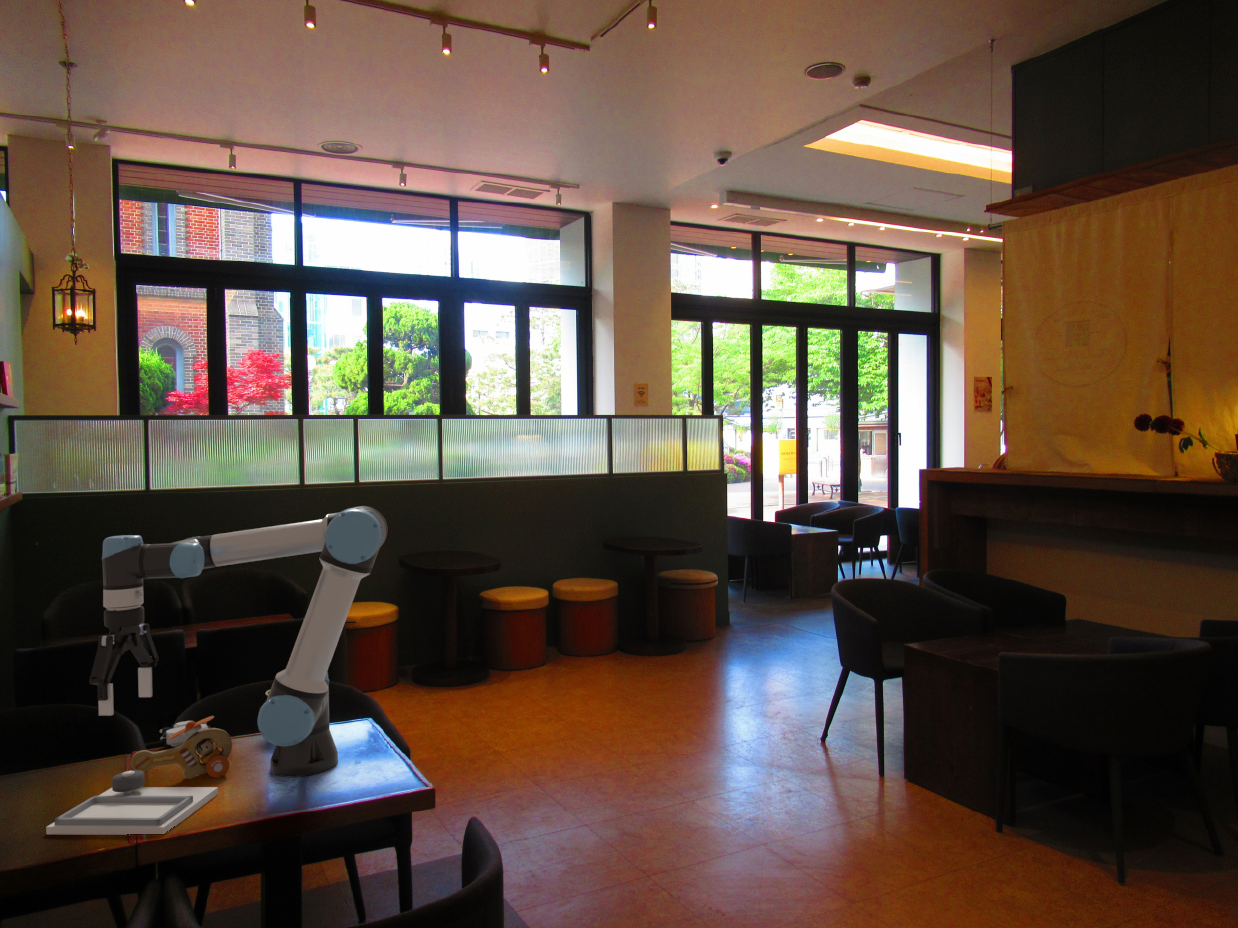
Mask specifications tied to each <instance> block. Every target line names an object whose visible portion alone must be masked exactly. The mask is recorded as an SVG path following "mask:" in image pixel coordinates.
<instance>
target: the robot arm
mask: <svg viewBox="0 0 1238 928" xmlns="http://www.w3.org/2000/svg"><path fill="white" fill-rule="evenodd" d="M387 536H388V524H387V521H386V519H385V517H384V516H383V514H381V512H380V511H379V510H377V509H375V508H373V507H371V506H366V505H361V506H354V507H350V508H347V509H343V510H341V511H340V512H334V513H328V514H326V515H325V516H324V518H321V519H315V520H308V521H302V522H301V521H300V522H295V523H294V522H293V523H287V524H278V525H273V526H265V527H260V528H253V529H252V528H250V529H243V530H238V531H232V532H226V533H224V532H223V533H217V534H212V535H203V536H197V535H196V536H192V537H187V538H186V539H183V540H182V539H181V540H178V541H174V542H170V543H152V544H149V543H144V541H143V537H142V536H141V535H139V534H138V535H137V534H135V535H133V534H130V535H129V534H128V535H125V534H124V535H123V534H122V535H113V536H109V537H106V538H104V540H103V541H102V557H101V561H102V578H103V579H102V581H103V584H102V585H103V586H102V587H103V591H102V593H103V595H102V597H103V600H102V603H103V604H102V607H103V608H105V610H104V611H103V623H104V624H103V625H104V627H105V628H108V630H109V633H108V635H99V636H98V638H97V640H98V641H97V650H96V654H95V657H94V661H93V664H92V667H91V668H92V669H91V672H90V676H89V680H88V683H89V685H92V686H97V688H96V689H97V701H98V702H97V704H98V716H99V717H100V716H113V715H114V710H115V709H114V683H110V682H111V680H112V678H113V676H114V674H115V671H116V669H117V666H118V664H119V661H120V659H121V657H122V656H123V655H124V654H125V652H127V651H130V652H131V654H132V655H133V656H134V658H135V659H136V661H137V663H138V664H139V666H140V667H138V668H137V678H138V679H137V681H138V684H137V685H138V688H137V689H138V698H152V697H153V667H157V665H158V661H159V655H158V652H157V650H156V649H157V648H156V646H155V643H154V641H153V637H152V635H151V632H150V631H151V630H150V624H149V623H145V607H144V606H142V605H143V604H144V593H145V592H144V579H145V580H150V579H173V578H176V579H177V578H179V579H185V578H191V577H198V576H200V575H201V574H202V572H203V570H204V569H211V568H216V567H222V566H228V565H236V564H243V563H249V562H250V563H251V562H257V561H263V560H271V559H276V558H277V559H278V558H283V557H291V556H298V555H305V554H313V553H319V552H321V553H320V555H319V561H320V564H321V565H322V569H321V572H320V575H319V578H318V581H317V584H316V586H315V589H314V592H313V595H312V597H311V600H310V602H309V605H308V608H307V610H306V614H305V616H304V617H303V622H302V624H301V627H300V629H299V632H298V635H297V638H296V640H295V642H294V646H293V649H292V651H291V654H290V657H289V660H288V662H287V665H286V667H285V669H283V670H281V671H279V672H277V673H276V675H275V677H274V680H273V683H272V685H271V687H270V689H269V690H270V693H269V695H268V696H267V698H266V700H265V702H264V703H263V704H262V705H261V706H260V708H259V712H258V714H257V715H258V716H257V727H258V731H259V732H260V734H261V736H262V737H263V738H264V739H265V740H266V741H267V742H269V743H270V744H271V745H272V744H273V745H274V747H273V751H272V754H271V758H270V761H269V764H270V765H269V766H270V768H269V769H270V772H271V773H272V774H273V775H275V776H279V777H284V778H285V777H287V778H294V777H295V778H296V777H305V776H310V775H316V774H319V773H322V772H325V771H328V770H330V769H331V768H332V769H333V767H335V766H336V765H337V764H338V762H339V753H338V749H337V747H336V743H335V741H334V738H333V736H332V733H331V730H330V700H329V699H330V696H329V695H330V692H329V691H330V689H329V683H330V679H329V672H328V670H329V667H330V665H331V662H332V660H333V657H334V654H335V651H336V648H337V646H338V642H339V640H340V637H341V635H342V631H343V628H344V626H345V623H346V621H347V618H348V617H349V612H350V610H351V607H352V604H353V602H354V599H355V596H356V594H357V590H358V587H359V586H360V582H361V580H362V579H364V578H365V577H367V576H370V575H371V573H372V570H373V567H374V565H375V561H376V558H377V556H378V555H379V551H380V548H381V547H382V546H383V545H384V544H385V541H386V539H387Z"/></svg>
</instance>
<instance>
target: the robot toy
mask: <svg viewBox="0 0 1238 928" xmlns="http://www.w3.org/2000/svg"><path fill="white" fill-rule="evenodd" d="M190 721H191V720H186V721H179V722H177V723H175V724H174V725H173V727H167V726H165V727H163V728H162V729H160V730H159V733H160V734H162V735H161V737H160V738H159V740H160V741H162V742H163V744H167V745H168V746H170V747H172V748H176V747H178V746H181V745H182V744H183V743H184V741H185V740H187V739H188V738H189V737H190V736H186V734H185V733H183V734H181V735H179V736H177V737H175V738H173V739H169V737H170V736H171V735H172V734H174V733H176V732H178V731H180V730H182V729H184V728H185V726H186V724H187V723H188V722H190ZM201 726H202V728H201V729H200V730H198V731H197V732H199V731H201V730H204V729H209V728H212V727H211V726H210V725H208V724H207V722H206V723H203V724H201ZM192 735H193V734H192ZM192 735H191V736H192ZM205 739H207V738H205Z"/></svg>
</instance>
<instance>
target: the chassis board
mask: <svg viewBox="0 0 1238 928" xmlns="http://www.w3.org/2000/svg"><path fill="white" fill-rule="evenodd" d="M218 795H219V787H218V786H216V787H215V786H202V787H201V786H198V787H197V786H195V787H193V786H168V787H167V786H166V787H165V786H162V787H161V786H153V787H152V786H142V787H140V788H138V789H135V790H132V791H127V792H115V791H113V790H112V787H110V788H109V789H107V790H106V791H104V792H102V793H101V794H99V795H93V796H91V797H90V798H88V799H86V800H84V801H83V802H81V803H80V804H77V805H76V806H74V807H72V808H71V809H70V810H67V811H66V812H64V813H63V814H61V815H59V816H58V817H56V818H54V822H52V823H50V824H49V825H47V826H46V828H45V829H46V831H45V832H46V835H69V836H70V835H74V836H75V835H78V836H79V835H82V836H84V835H85V836H86V835H87V836H90V835H94V836H95V835H97V836H98V835H99V836H101V835H103V836H105V835H108V836H110V835H111V836H114V835H115V836H117V835H118V836H121V835H124V836H131V835H130V834H165V833H166V832H167V831H168V832H170V831H171V830H172V829H174V828H175V827H177V826H178V825H179V824H180V823H182V822H183V821H185V819H187V818H188V817H190V816H191V815H193V814H194V813H195V812H196V811H197V810H199V809H200V808H202V807H204V806H205V805H206V804H207V803H209V801H211V800H212V799H214V798H215V797H216V796H218ZM174 826H175V827H174ZM173 827H174V828H173ZM171 828H172V829H171ZM170 829H171V830H170ZM169 830H170V831H169ZM168 832H167V833H168ZM167 833H166V834H167ZM127 834H129V835H127ZM166 834H165V835H166Z"/></svg>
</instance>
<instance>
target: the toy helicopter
mask: <svg viewBox="0 0 1238 928" xmlns="http://www.w3.org/2000/svg"><path fill="white" fill-rule="evenodd" d="M214 718H215V716H214V715H211V716H208V717H205V718H203V719H200V720H199V721H196V722H195V721H194V720H189V721H190V722H188V723H187V724H186V726H185V728H184V729H182V730H180V731H178V732H176V733H174V734H172V735H171V736H170V737H169V739H173V738H175V737H177V736H179V735H181V734H183V733H185V734H186V736H190V737H189V738H188V739H187V740H185V741H184V743H183V744H182V745H181V746H179V747H172V748H169V749H168V748H167V749H163V750H159V751H150V750H147V749H143V750H139V751H137V752H135V753H134V754H133V755H132V757H131V759H130V767H131V771H135V770H139V771H143V772H144V774H145V773H148V772H150V771H151V770H152V769H153V768H155V767H159V766H166V765H167V766H168V765H174V764H175V765H176V764H178V765H179V766H180V767H181V768H182V769H183V770H184V777H185V779H187V780H191V779H193V778H195V777H196V776H197V775H203V774H208V776H210V777H211V778H214V779H219V778H221V777H223V776H225V775H226V774H227V773H228V771H229V769H230V761H229V760H228V759H229V757H230V755H231V752H232V747H233V746H232V745H233V742H232V738H231V735H230V734H229V733H228V732H227V731H226V730H225V729H221V728H216V727H211V728H209V729H204V730H201V731H199V732H197V731H198V730H200V729H201V728H202V726H201V724H203V723H206V724H207V723H208V722H210V721H212V720H213V719H214ZM192 734H193V735H192ZM191 735H192V736H191ZM205 738H206V739H205ZM213 741H214V742H213ZM214 743H215V745H216V747H214V746H215V745H214ZM218 747H219V748H218Z"/></svg>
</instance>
